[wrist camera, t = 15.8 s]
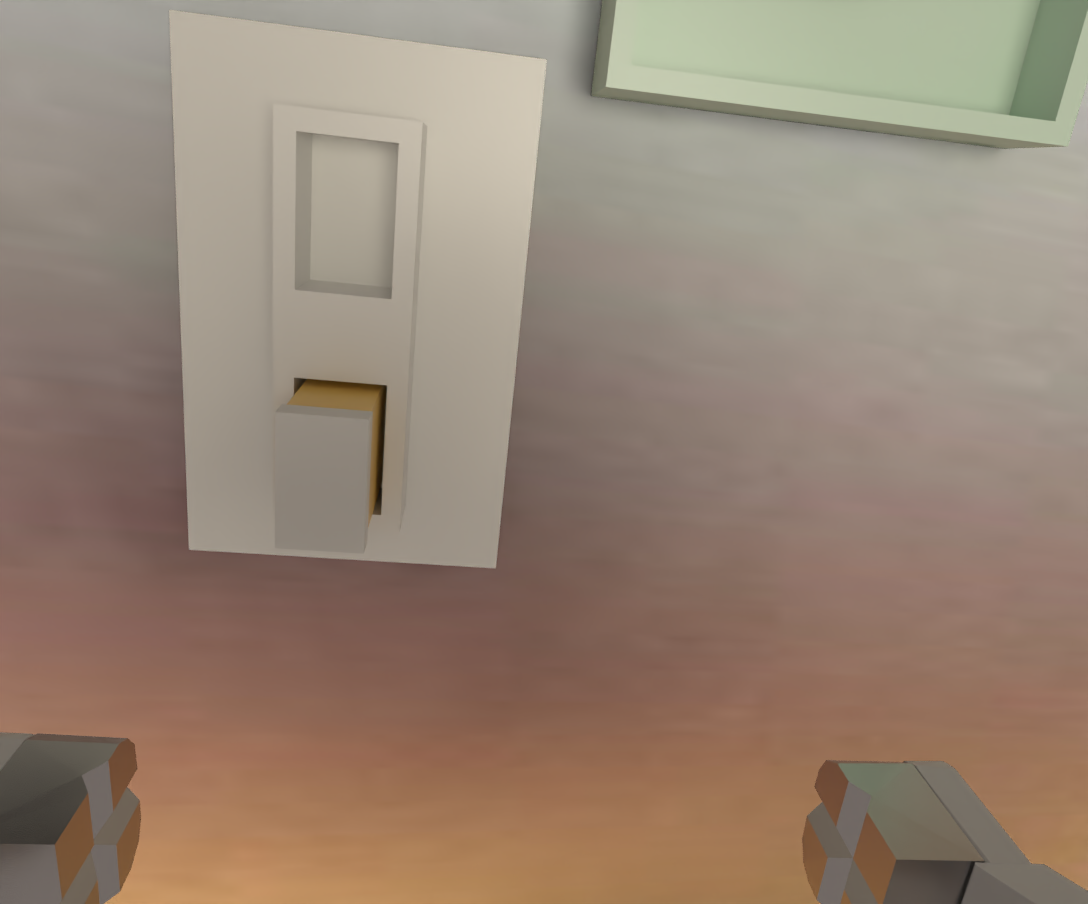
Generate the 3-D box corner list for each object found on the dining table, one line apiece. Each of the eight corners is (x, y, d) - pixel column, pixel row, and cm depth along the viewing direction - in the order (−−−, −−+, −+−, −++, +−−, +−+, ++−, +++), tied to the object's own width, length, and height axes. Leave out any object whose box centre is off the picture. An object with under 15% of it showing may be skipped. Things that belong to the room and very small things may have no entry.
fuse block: (544, 62, 32) (553, 48, 28) (495, 558, 39) (497, 600, 35) (178, 14, 31) (136, -7, 27) (196, 540, 38) (165, 581, 34)
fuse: (389, 371, 35) (369, 419, 28) (384, 483, 36) (363, 553, 30) (313, 365, 34) (274, 412, 28) (311, 478, 36) (275, 548, 29)
